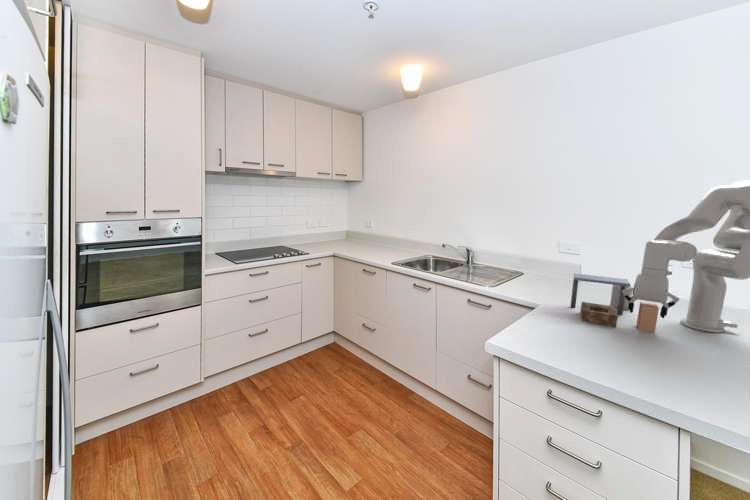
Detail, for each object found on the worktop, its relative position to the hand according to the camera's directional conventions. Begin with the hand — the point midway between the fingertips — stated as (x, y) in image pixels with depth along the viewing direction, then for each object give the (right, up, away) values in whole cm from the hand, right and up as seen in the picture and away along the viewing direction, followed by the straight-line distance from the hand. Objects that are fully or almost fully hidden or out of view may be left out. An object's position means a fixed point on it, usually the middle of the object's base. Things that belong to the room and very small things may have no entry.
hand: (646, 314), depth 128 cm
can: (+9, -2, +25) cm, 27 cm away
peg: (+1, -6, +1) cm, 6 cm away
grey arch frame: (-8, -3, +18) cm, 20 cm away
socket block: (-12, -4, +11) cm, 17 cm away
